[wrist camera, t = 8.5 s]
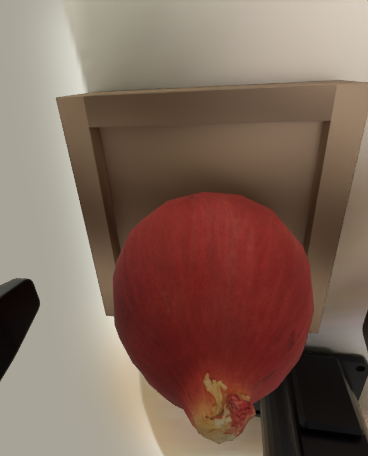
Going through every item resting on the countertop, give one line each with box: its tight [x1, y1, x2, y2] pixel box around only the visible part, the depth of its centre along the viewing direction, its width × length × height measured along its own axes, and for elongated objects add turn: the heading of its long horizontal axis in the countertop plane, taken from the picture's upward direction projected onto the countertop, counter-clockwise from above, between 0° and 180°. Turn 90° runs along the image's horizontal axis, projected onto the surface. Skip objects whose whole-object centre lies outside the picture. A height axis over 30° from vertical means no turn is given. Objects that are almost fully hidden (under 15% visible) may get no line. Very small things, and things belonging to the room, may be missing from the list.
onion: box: [113, 192, 314, 444], centre depth 9 cm, size 6×6×8 cm
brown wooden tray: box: [56, 80, 368, 333], centre depth 13 cm, size 10×10×3 cm
